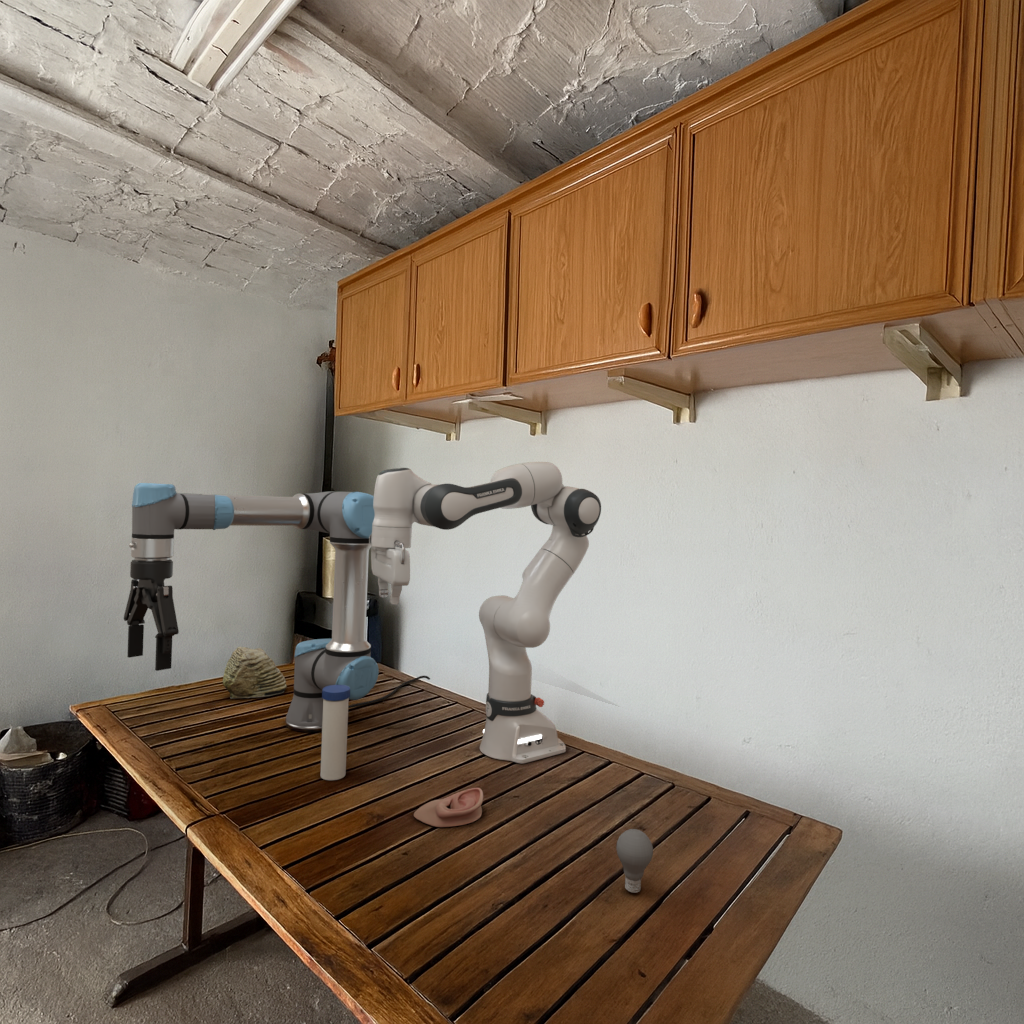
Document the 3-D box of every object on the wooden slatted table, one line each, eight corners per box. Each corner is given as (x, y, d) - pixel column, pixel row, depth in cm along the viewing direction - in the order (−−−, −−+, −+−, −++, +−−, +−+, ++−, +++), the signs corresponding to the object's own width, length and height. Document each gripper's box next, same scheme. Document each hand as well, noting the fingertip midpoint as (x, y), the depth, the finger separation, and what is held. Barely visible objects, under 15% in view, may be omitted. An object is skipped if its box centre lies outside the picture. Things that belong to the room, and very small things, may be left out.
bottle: (347, 769, 147) (350, 687, 147) (343, 780, 142) (347, 694, 142) (322, 770, 147) (325, 686, 146) (318, 780, 141) (321, 694, 141)
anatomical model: (408, 802, 124) (427, 778, 135) (407, 822, 124) (427, 796, 136) (473, 812, 122) (488, 786, 133) (473, 832, 122) (487, 805, 133)
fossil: (218, 695, 195) (220, 647, 195) (278, 685, 208) (279, 640, 207) (228, 703, 189) (230, 653, 188) (289, 692, 201) (290, 645, 201)
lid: (351, 692, 147) (352, 684, 147) (348, 701, 141) (348, 692, 141) (324, 692, 147) (324, 684, 147) (319, 701, 141) (320, 692, 140)
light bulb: (610, 879, 108) (613, 822, 108) (644, 879, 109) (647, 822, 109) (619, 902, 102) (622, 840, 102) (655, 901, 103) (658, 840, 103)
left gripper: (108, 554, 134) (104, 654, 134) (159, 565, 118) (155, 678, 119) (146, 552, 140) (143, 648, 140) (199, 563, 124) (195, 671, 124)
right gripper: (418, 543, 135) (415, 608, 135) (393, 536, 153) (390, 593, 153) (389, 542, 132) (386, 608, 132) (367, 535, 150) (364, 593, 151)
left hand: (148, 662), depth 129 cm, fingers open, 13 cm apart
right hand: (388, 600), depth 143 cm, fingers open, 8 cm apart
